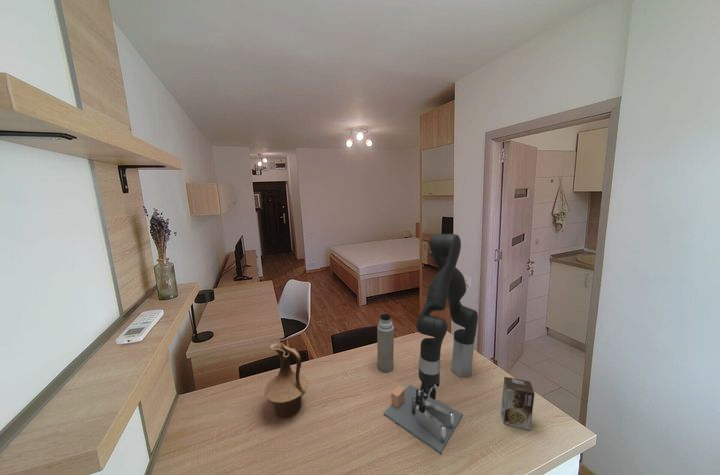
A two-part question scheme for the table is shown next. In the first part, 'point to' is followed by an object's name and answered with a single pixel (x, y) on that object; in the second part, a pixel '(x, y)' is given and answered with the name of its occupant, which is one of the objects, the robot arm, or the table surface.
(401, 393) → the block
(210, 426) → the table surface
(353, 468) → the table surface
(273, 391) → the pitcher
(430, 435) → the slate board
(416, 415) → the jaw
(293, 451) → the table surface
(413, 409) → the post
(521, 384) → the coffee box
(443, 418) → the bar
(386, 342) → the thermos bottle
